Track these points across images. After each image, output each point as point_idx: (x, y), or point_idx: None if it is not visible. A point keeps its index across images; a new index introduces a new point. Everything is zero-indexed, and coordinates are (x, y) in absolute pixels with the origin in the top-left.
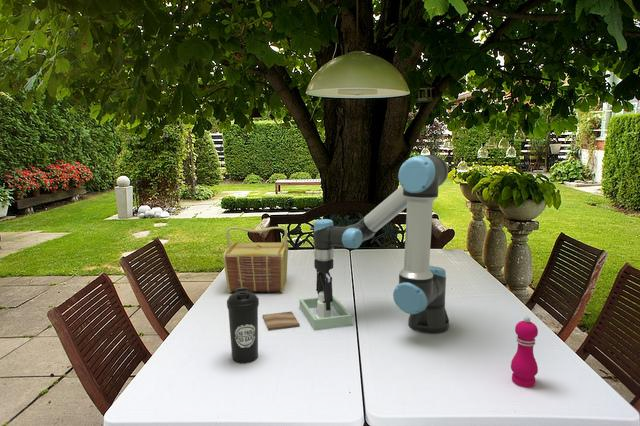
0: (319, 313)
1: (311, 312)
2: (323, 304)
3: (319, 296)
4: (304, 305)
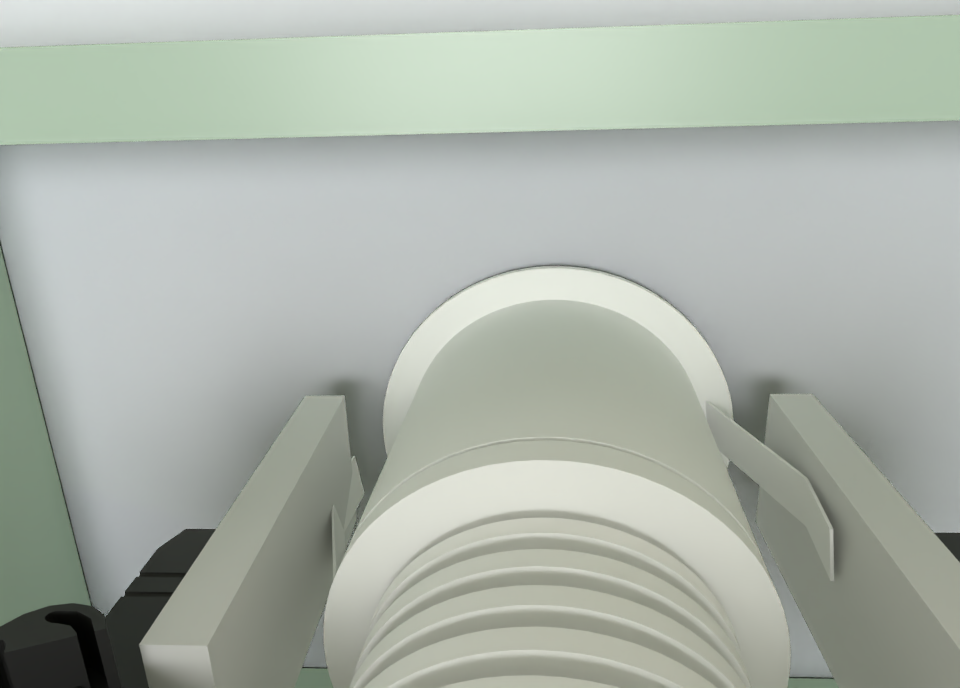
0: (468, 353)
1: (241, 121)
2: (339, 568)
3: (561, 667)
4: (913, 38)
